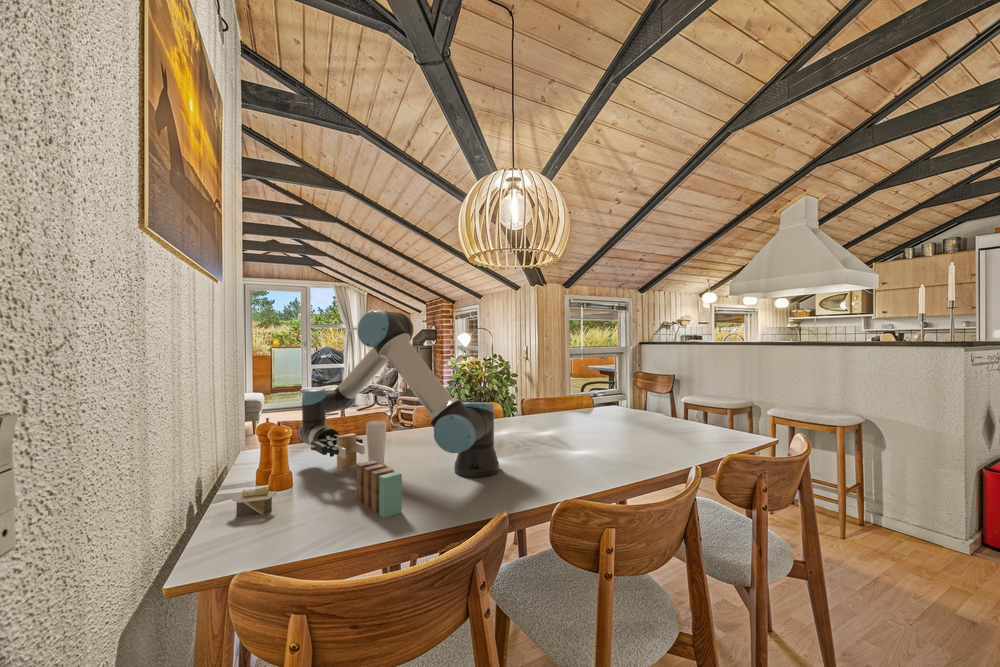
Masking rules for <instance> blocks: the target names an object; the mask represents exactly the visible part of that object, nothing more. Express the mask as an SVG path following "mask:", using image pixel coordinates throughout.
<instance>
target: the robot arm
mask: <svg viewBox="0 0 1000 667" xmlns="http://www.w3.org/2000/svg"><path fill="white" fill-rule="evenodd" d="M414 330H415V329H414V324H413V321H412V320H411V319H410V318H409V316H407V315H406V314H404V313H402V312H397V311H396V312H395V311H386V310H381V309H378V310H376V309H375V310H369V311H367V312H366V313H364V314H363V315H362V317H361V318H360V319H359V321H358V324H357V337H358V340H359V341H360V343H362V344H363V345H364V346H366V347H369V348H371V349H370V350H368V352H367V354H365V355H364V356H363V358H362V359H361V360H360V361H359V362H358V363H357V365H356V366H355V367H353V369H352V370H351V371H350V372H349V373H348V375H346V377H345V378H344V379H343V380H342V382H340V384H339V385H338V386H337V387H336V388H335V389H334V390H333V391H328V392H326V390H325V389H324V388H311V389H305V390H303V391H302V395H301V406H302V407H301V410H302V411H301V412H302V413H301V415H302V416H301V417H302V421H301V426H300V427H299V429H298V437H299V438H300V440H301V441H302V442H303V443H304V444H307V445H309V446H310V450H311V451H315V452H317V453H319V454H321V455H322V456H326V455H328V454H329V457H331V458H332V457H334V456H335V455H336V457H337V456H339V457H341V458H343V459H344V458H346V448H343V447H341V446H339V445H337V436H340V433H339V432H338V431H337V429H334V428H332V427H329V426H326V424H327V423H326V418H327V417H326V416H327V414H330V413H334V412H337V411H339V412H340V411H343V410H347V409H349V408H351V407H352V406H354V404H355V402H356V399H357V398H356V397H357V396H358V395H359V394H360V393H361V391H362V390H363V389H364V388H365V387H366V386H367V385H368V384H369V383H370V381H372V380H373V378H374V377H375V376H376V375H377V374H378V373H379V372H380V371H381V370H382V369H383V367H384V366H386V364H387V363H388V362H389V363H391V365H392V366H393V367H394V369H395V370H396V372H397V373H398V374H399V376H400V377H401V378H402V379H403V381H404V382H405V383H406V385H407V386H408V388H409V389H410V390H411V391H412V393H413V394H414V395H415V396H416V398H417V399H418V401H419V402H420V403H421V404H422V406H423V407H424V408H425V410H426V411H427V413H428V414H429V416H430V419H429V421H430V422H429V424H430V425H431V427H432V428H433V437H434V438H433V439H434V441H435V444H437V446H438V447H439V448H440V449H442V450H443V451H444V452H446V453H450V454H457V456H456V460H455V461H454V473H455V474H456V475H458V476H461V477H466V478H483V477H484V478H485V477H489V476H493V475H495V474H497V473H498V472H500V463H499V460H498V456H497V452H496V449H495V446H494V445H495V412H494V411H495V408H494V407H495V406H494V404H492V403H490V402H483V401H482V402H479V401H477V402H476V401H475V402H474V401H462V400H461V399H460V398H459V399H458V398H454V397H453V396H451V394H450V392H449V391H448V390H447V389H446V388H445V387H444V385H443V384H442V383H441V381H440V380H439V379H438V377H437V376H436V375H435V373H433V371H432V370H431V368H430V367H429V366H428V364H427V363H426V362H425V361H424V359H423V358H422V357H421V356H420V354H419V353H418V352H417V351H416V349H415V348H414V346H413V345H412V344H411V342H410V341H411V340H412V338H413V336H414V332H415V331H414ZM365 449H366V448H365V444H364V443H363V438H359V437H358V436H356V453H358V454H360V455H365V451H366V450H365Z"/></svg>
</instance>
